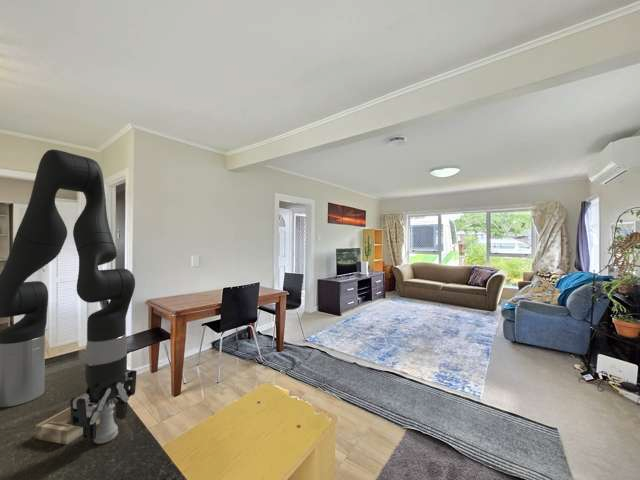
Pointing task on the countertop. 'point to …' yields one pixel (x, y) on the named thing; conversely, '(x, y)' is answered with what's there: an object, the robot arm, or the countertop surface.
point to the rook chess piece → (106, 424)
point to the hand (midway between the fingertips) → (106, 427)
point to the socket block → (60, 428)
